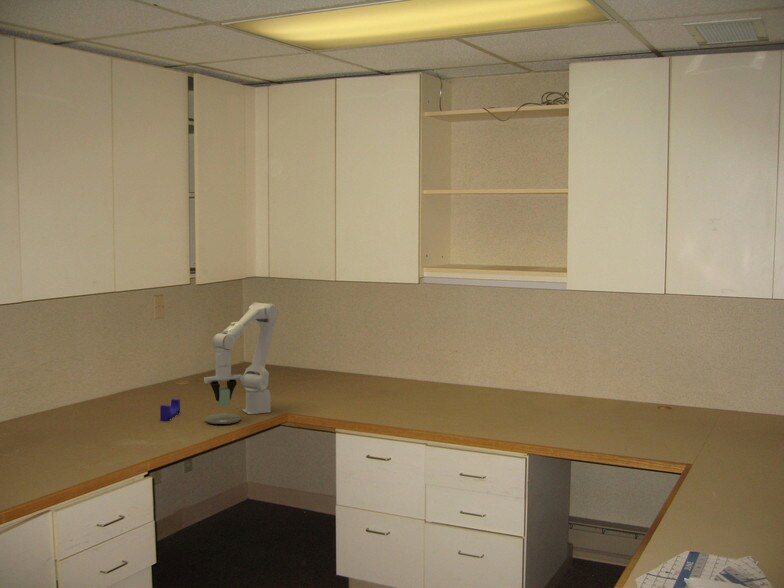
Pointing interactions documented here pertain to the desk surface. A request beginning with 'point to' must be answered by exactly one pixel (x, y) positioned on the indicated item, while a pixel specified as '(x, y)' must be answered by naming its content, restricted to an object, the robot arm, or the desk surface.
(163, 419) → the cable clip
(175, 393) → the desk surface
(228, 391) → the pale green block
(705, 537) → the desk surface
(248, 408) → the robot arm
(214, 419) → the slate plate
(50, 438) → the desk surface
